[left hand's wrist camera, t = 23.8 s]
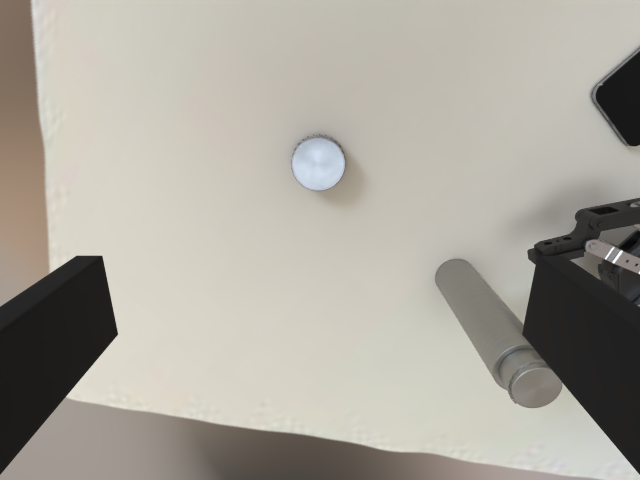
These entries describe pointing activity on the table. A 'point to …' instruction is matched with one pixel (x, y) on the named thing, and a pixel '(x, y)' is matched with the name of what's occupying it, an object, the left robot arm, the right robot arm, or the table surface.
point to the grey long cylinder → (497, 336)
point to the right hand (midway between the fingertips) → (535, 301)
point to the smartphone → (622, 99)
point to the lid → (318, 163)
